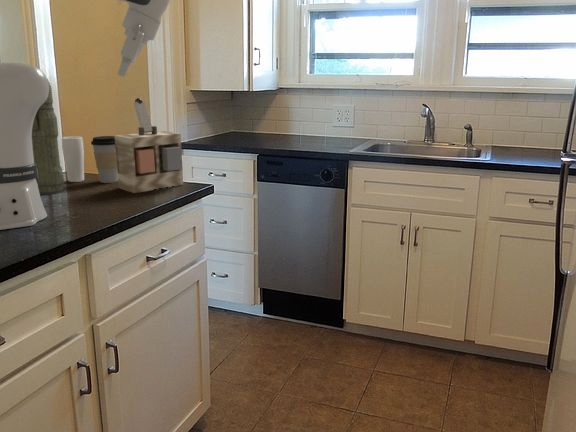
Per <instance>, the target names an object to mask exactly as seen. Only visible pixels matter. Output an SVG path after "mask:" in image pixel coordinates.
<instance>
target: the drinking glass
mask: <svg viewBox="0 0 576 432" xmlns="http://www.w3.org/2000/svg"><path fill="white" fill-rule="evenodd" d="M84 149H85V148H84V139H83V136H81V135H79V136H78V135H76V136H75V135H72V136H62V137H61V150H62V155H63V159H64V163H65V164H64V165H65V169H66V170H65V171H66V176H67V181H68V182H70V183H80V182H84V181H85V154H84V153H85V152H84V151H85V150H84Z"/></svg>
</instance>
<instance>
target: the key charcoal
mask: <svg viewBox="0 0 576 432" xmlns="http://www.w3.org/2000/svg"><path fill="white" fill-rule="evenodd" d="M181 149H182V146H181V147H167V148H162V154H160V160H162V161H163V170H166V171H172V170H179V169H183V166H182V167H181Z"/></svg>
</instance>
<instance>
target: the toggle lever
mask: <svg viewBox="0 0 576 432" xmlns="http://www.w3.org/2000/svg"><path fill="white" fill-rule="evenodd" d="M145 103H146V102H145V101H144V100H142V98H140V97H137V98H135V100H134V103H133V105H134V108H135V109H134V110H135V112H136V116H137V119H138V123H139V125H140V127H143V128H144V133H151V132H152V131H153V130H152V126H153V125H152V124H151V121H150V117H149V113H148V110H147V106H146V104H145Z"/></svg>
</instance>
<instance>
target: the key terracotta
mask: <svg viewBox="0 0 576 432" xmlns="http://www.w3.org/2000/svg"><path fill="white" fill-rule="evenodd" d="M134 151H135V156H134V159H135V165H136V172H137V173H140V174H142V173H149V172H155V162H154V149H140V150H134Z"/></svg>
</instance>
